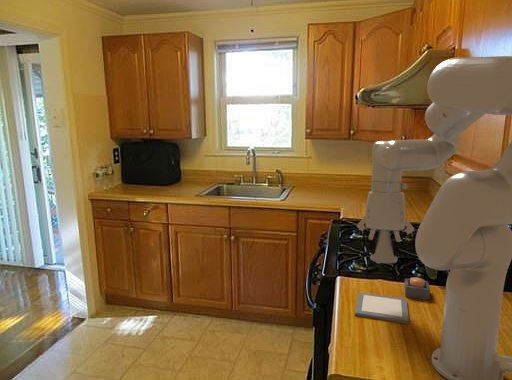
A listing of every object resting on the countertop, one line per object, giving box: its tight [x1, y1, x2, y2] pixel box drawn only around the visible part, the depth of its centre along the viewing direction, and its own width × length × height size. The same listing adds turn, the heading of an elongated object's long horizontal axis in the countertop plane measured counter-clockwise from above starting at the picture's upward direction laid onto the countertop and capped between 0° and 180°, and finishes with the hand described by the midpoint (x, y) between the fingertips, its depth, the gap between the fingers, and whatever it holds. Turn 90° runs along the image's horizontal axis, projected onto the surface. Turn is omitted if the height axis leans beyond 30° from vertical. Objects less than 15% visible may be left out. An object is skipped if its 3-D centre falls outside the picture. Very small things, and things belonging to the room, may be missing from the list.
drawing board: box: [354, 292, 410, 325], centre depth 101 cm, size 13×13×1 cm
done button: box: [409, 277, 426, 288], centre depth 110 cm, size 4×4×3 cm
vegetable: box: [424, 264, 438, 280], centre depth 120 cm, size 4×4×20 cm
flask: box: [369, 230, 398, 264], centre depth 101 cm, size 7×7×10 cm
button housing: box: [403, 278, 431, 300], centre depth 110 cm, size 6×6×3 cm
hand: (383, 253), depth 102 cm, fingers closed on flask, 4 cm apart
